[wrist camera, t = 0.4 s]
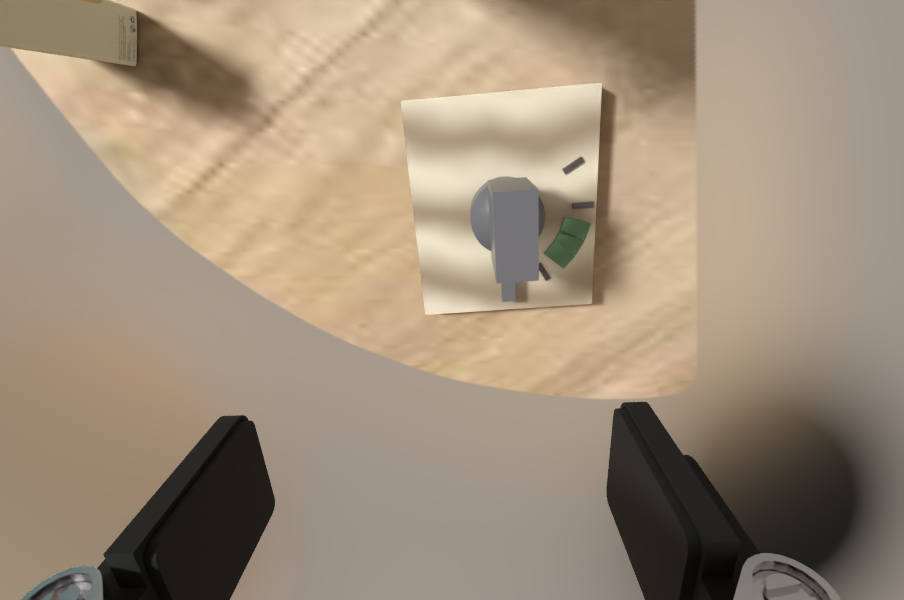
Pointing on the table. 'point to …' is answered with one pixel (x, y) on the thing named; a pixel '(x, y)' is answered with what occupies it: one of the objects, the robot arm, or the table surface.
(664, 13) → the table surface
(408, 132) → the dial board
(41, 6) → the skincare box
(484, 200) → the knob
